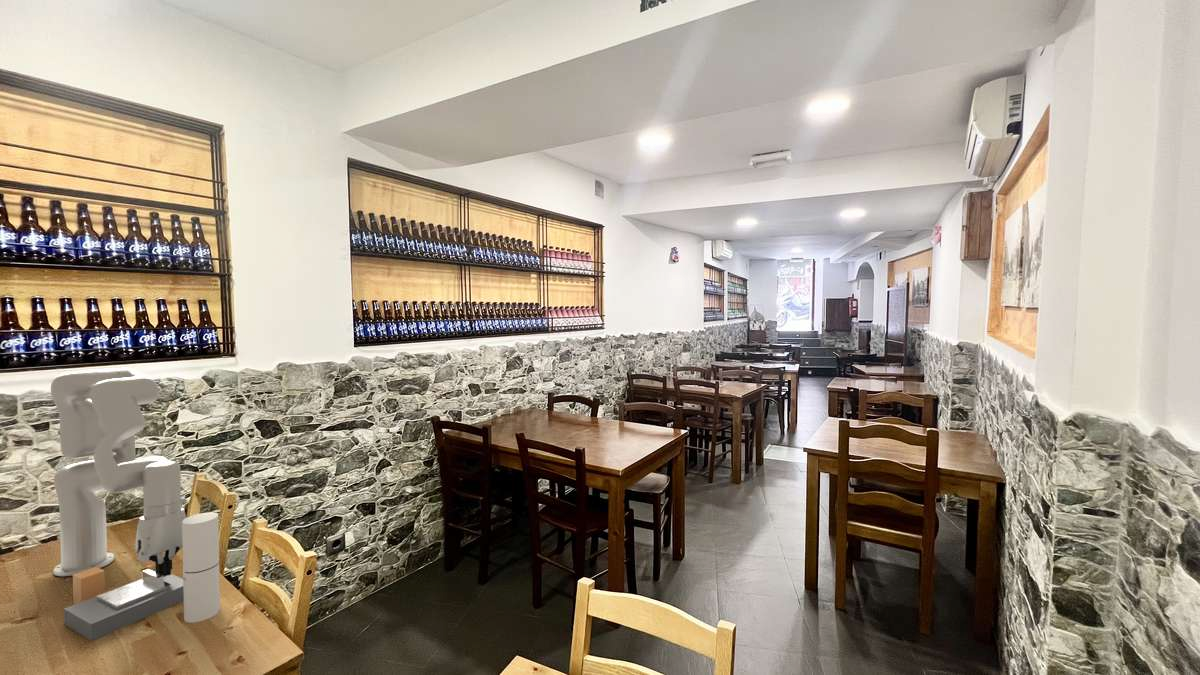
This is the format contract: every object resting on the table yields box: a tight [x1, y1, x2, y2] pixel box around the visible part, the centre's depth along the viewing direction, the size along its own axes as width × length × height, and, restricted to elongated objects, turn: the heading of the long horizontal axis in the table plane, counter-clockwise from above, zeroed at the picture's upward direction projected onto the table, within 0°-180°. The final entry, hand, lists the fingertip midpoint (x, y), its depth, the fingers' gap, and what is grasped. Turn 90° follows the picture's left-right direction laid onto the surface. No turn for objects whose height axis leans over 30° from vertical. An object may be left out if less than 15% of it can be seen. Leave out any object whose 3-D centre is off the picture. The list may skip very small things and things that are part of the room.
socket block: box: [63, 573, 184, 642], centre depth 126 cm, size 14×20×4 cm
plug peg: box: [72, 567, 106, 605], centre depth 129 cm, size 5×5×8 cm
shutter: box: [97, 568, 166, 609], centre depth 126 cm, size 10×10×3 cm
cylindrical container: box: [182, 511, 221, 624], centre depth 125 cm, size 7×7×25 cm
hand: (164, 574), depth 132 cm, fingers closed
